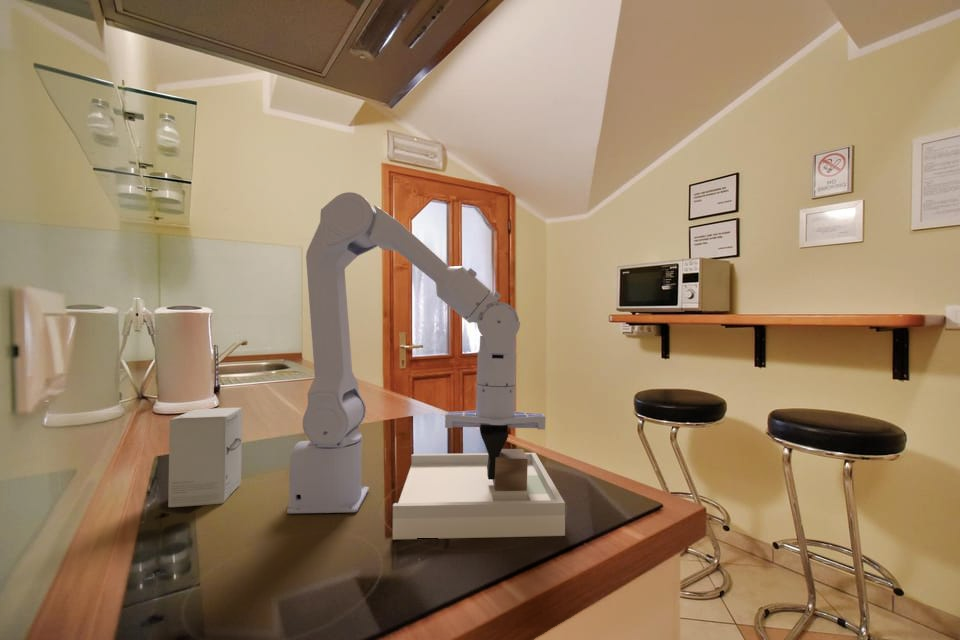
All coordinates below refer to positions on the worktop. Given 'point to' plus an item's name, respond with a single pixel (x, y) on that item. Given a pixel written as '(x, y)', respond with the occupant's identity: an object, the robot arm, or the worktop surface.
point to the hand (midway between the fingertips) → (493, 477)
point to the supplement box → (204, 456)
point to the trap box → (474, 501)
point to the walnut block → (511, 470)
